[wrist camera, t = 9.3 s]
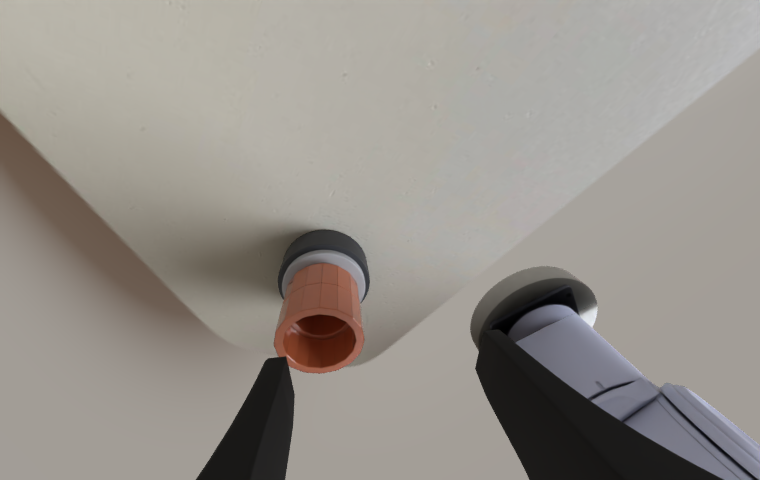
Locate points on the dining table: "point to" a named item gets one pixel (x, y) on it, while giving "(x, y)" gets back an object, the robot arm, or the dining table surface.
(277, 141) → the dining table surface
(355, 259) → the push button
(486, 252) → the dining table surface
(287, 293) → the cup
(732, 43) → the dining table surface
